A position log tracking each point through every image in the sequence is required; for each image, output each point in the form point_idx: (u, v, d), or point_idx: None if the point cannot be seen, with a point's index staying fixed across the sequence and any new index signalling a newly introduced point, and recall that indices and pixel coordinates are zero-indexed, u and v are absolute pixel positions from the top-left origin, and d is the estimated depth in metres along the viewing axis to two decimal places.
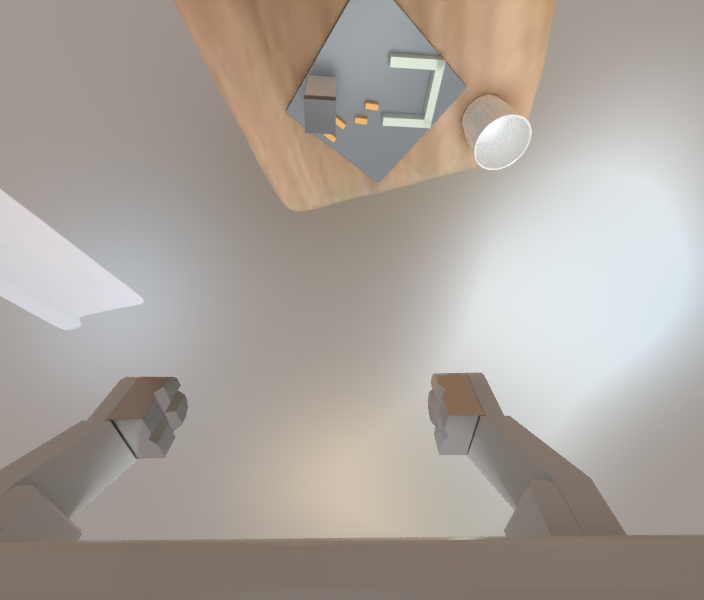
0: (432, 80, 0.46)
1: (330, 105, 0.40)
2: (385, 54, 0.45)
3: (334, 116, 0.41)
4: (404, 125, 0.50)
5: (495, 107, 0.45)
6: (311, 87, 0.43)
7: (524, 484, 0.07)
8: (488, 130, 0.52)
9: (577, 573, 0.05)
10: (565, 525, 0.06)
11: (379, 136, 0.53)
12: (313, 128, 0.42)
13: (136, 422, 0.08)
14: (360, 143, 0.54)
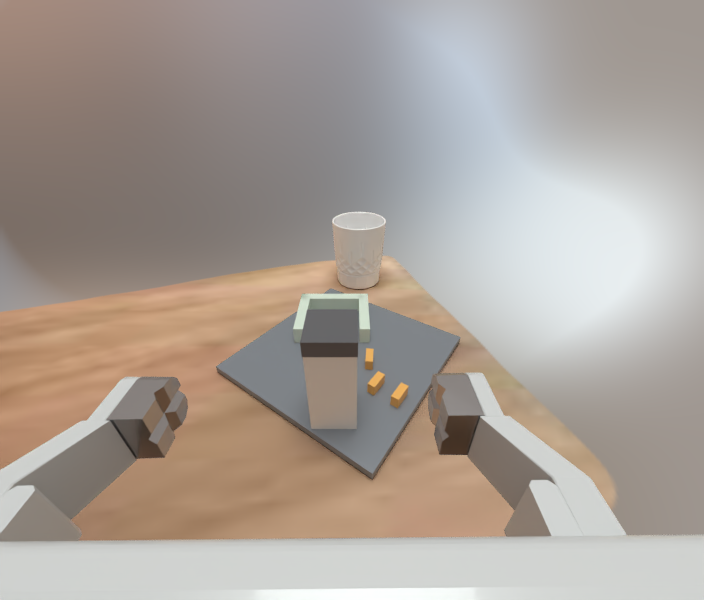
0: (320, 301, 0.42)
1: (313, 314, 0.25)
2: (295, 345, 0.37)
3: (329, 310, 0.25)
4: (367, 311, 0.39)
5: (335, 246, 0.47)
6: None
7: (524, 484, 0.07)
8: None
9: (577, 573, 0.05)
10: (565, 525, 0.06)
11: (390, 342, 0.37)
12: (349, 332, 0.23)
13: (135, 422, 0.08)
14: (406, 360, 0.35)
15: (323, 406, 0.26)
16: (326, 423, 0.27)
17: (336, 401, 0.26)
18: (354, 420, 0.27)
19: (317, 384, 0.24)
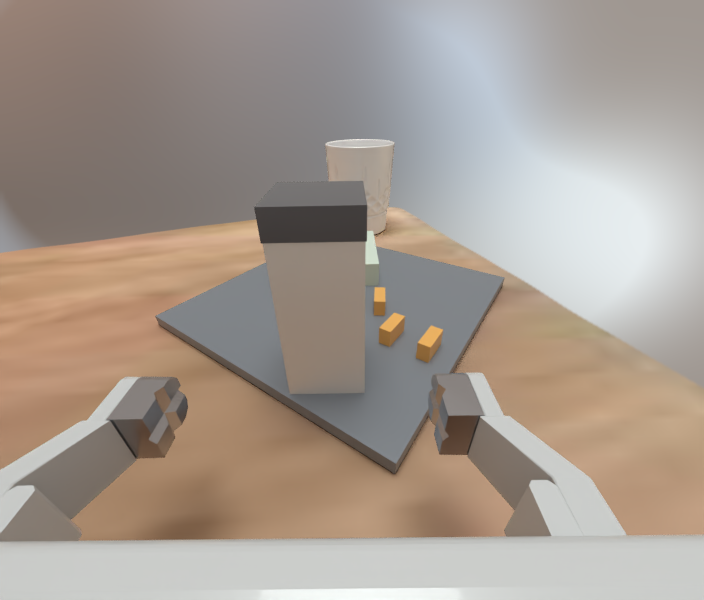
0: None
1: (286, 185, 0.14)
2: None
3: (315, 183, 0.15)
4: (373, 247, 0.28)
5: (330, 179, 0.37)
6: None
7: (524, 484, 0.07)
8: None
9: (577, 573, 0.05)
10: (565, 525, 0.06)
11: (407, 284, 0.26)
12: (350, 196, 0.12)
13: (135, 422, 0.08)
14: (432, 304, 0.24)
15: (307, 350, 0.15)
16: (313, 383, 0.16)
17: (328, 340, 0.15)
18: (360, 377, 0.16)
19: (294, 305, 0.14)
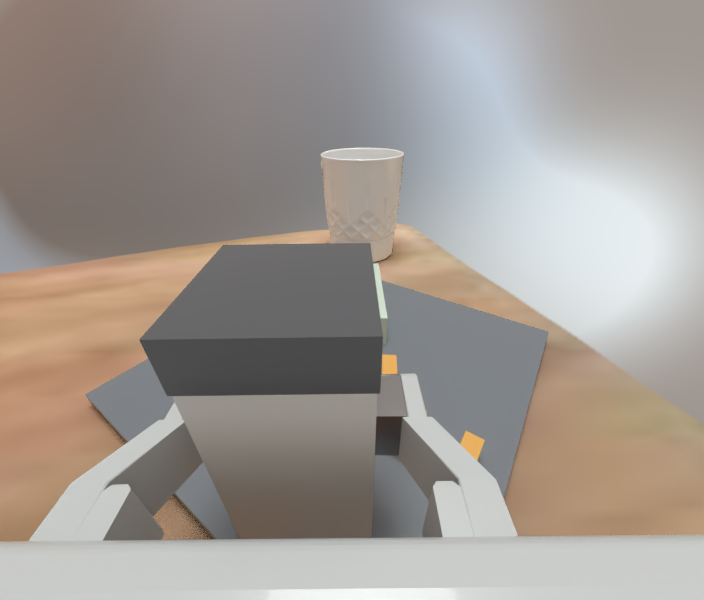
0: None
1: (236, 255, 0.08)
2: None
3: (289, 247, 0.09)
4: (379, 289, 0.22)
5: (326, 196, 0.30)
6: None
7: None
8: None
9: (577, 573, 0.05)
10: (459, 526, 0.06)
11: (424, 342, 0.20)
12: (347, 300, 0.06)
13: None
14: (459, 377, 0.18)
15: (275, 524, 0.09)
16: None
17: (310, 514, 0.09)
18: None
19: (246, 475, 0.08)
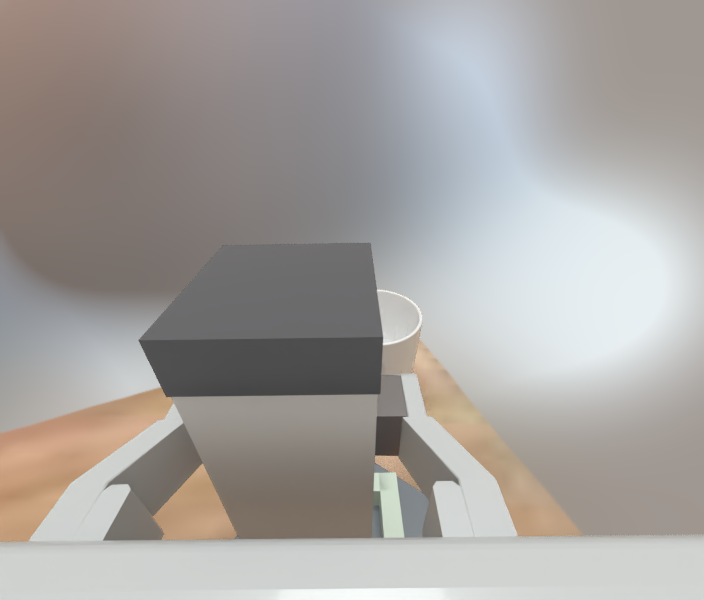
0: None
1: (236, 255, 0.08)
2: None
3: (289, 247, 0.09)
4: None
5: None
6: None
7: None
8: None
9: (577, 573, 0.05)
10: (459, 526, 0.06)
11: None
12: (347, 300, 0.06)
13: None
14: None
15: (275, 525, 0.09)
16: None
17: (310, 514, 0.09)
18: None
19: (246, 476, 0.08)
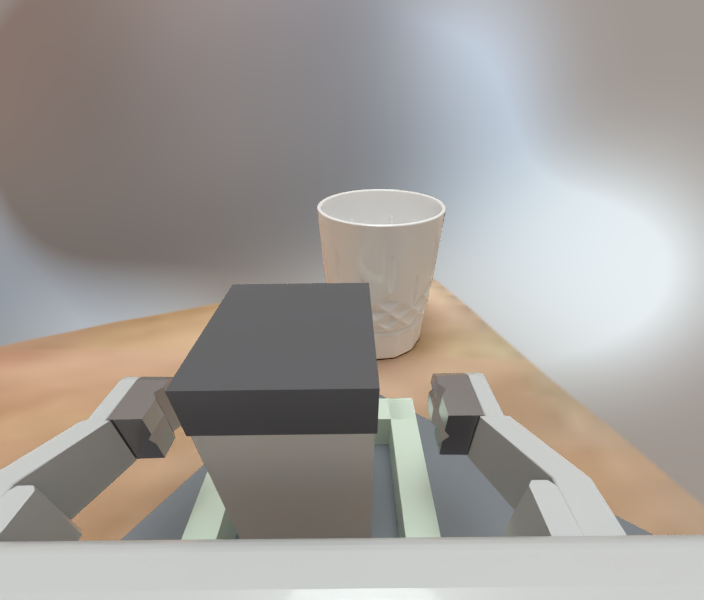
0: None
1: (245, 296, 0.09)
2: None
3: (293, 287, 0.09)
4: (424, 485, 0.12)
5: (326, 267, 0.20)
6: None
7: (524, 484, 0.07)
8: None
9: (577, 573, 0.05)
10: (565, 525, 0.06)
11: None
12: (347, 348, 0.07)
13: (135, 422, 0.08)
14: None
15: None
16: None
17: (314, 533, 0.09)
18: None
19: (255, 501, 0.08)
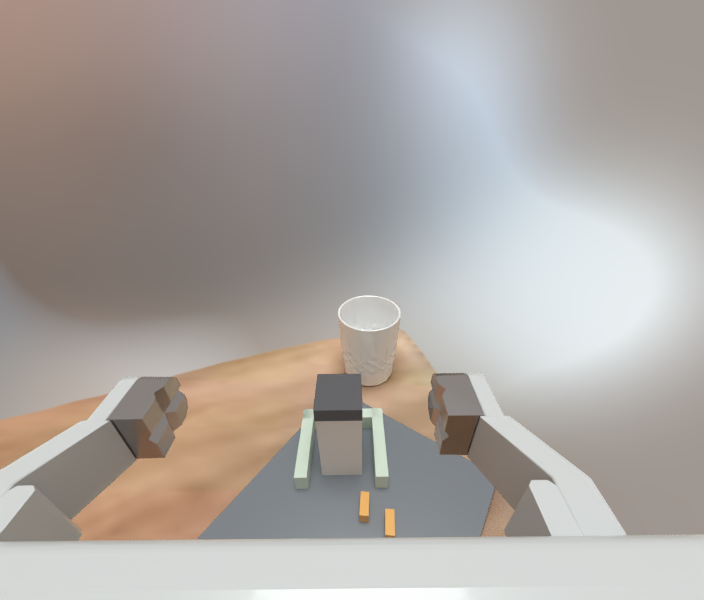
0: None
1: (323, 379, 0.29)
2: (297, 495, 0.30)
3: (337, 375, 0.29)
4: (383, 442, 0.32)
5: (342, 341, 0.40)
6: None
7: (524, 484, 0.07)
8: None
9: (577, 573, 0.05)
10: (565, 525, 0.06)
11: (413, 487, 0.30)
12: (354, 398, 0.27)
13: (135, 422, 0.08)
14: (435, 523, 0.28)
15: (332, 457, 0.30)
16: (335, 470, 0.31)
17: (343, 453, 0.30)
18: (360, 468, 0.31)
19: (327, 441, 0.28)
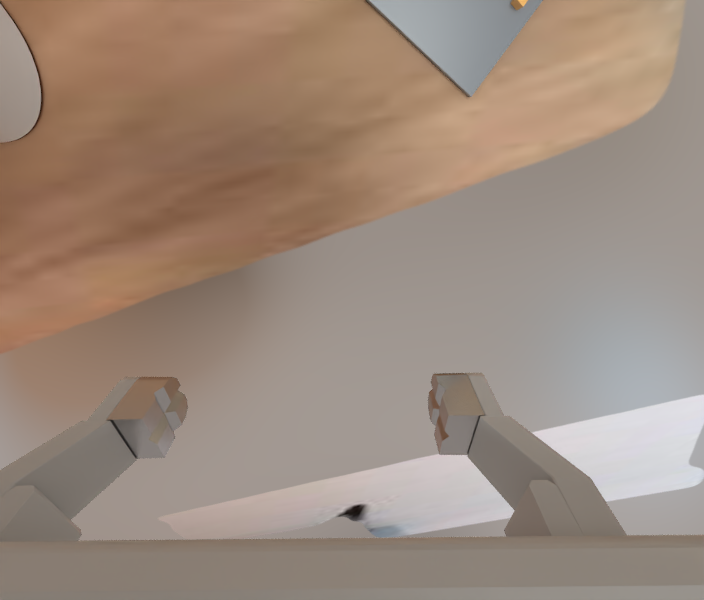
0: None
1: None
2: None
3: None
4: None
5: None
6: None
7: (524, 484, 0.07)
8: None
9: (577, 573, 0.05)
10: (565, 525, 0.06)
11: None
12: None
13: (135, 422, 0.08)
14: None
15: None
16: None
17: None
18: None
19: None
